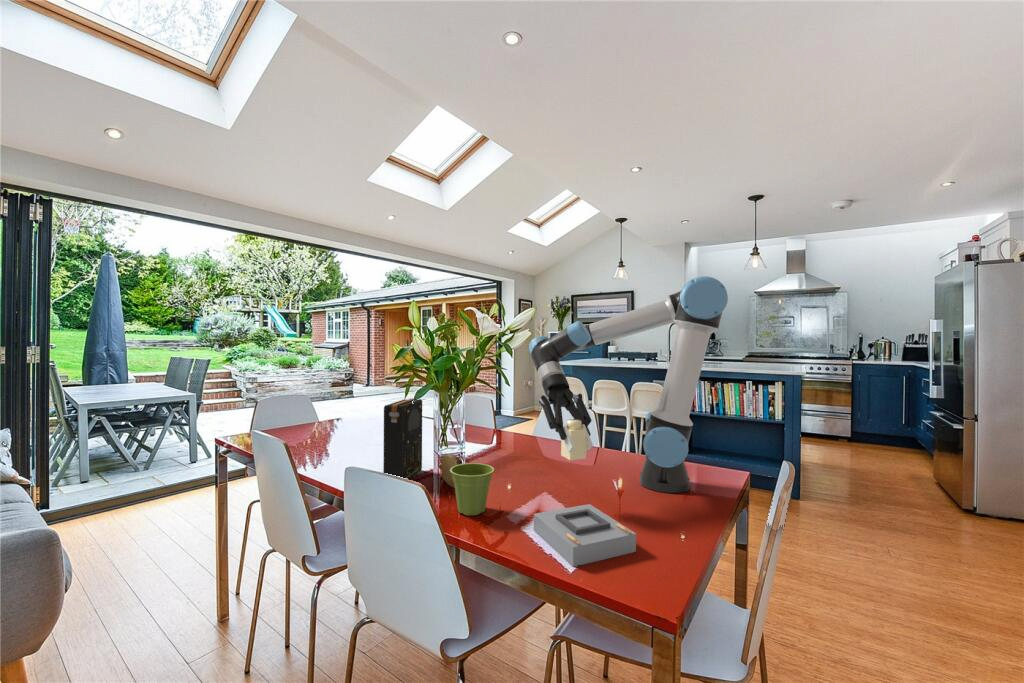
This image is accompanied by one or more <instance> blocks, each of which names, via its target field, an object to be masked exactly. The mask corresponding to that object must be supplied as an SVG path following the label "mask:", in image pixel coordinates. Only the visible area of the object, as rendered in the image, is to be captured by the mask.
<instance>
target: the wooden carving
mask: <svg viewBox="0 0 1024 683" xmlns="http://www.w3.org/2000/svg"><path fill="white" fill-rule="evenodd" d="M440 463H441V464H439V465H438V468H439V470H441V473H440V476H441V478H442V479H443V481H445V483H446V484H447V485H448V486H449V487H451V488H453V489H455V484H454V481H453V476H452V473H451V472H450V469H451V468H452V467H453V466H456V465H460V464H464V463H463V461H462V459H460V458H459V457H458V456H457V455H456V454H454V453H445V454H442V455H441V456H440Z"/></svg>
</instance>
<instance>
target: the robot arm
mask: <svg viewBox="0 0 1024 683" xmlns="http://www.w3.org/2000/svg"><path fill="white" fill-rule="evenodd" d="M728 299H729V295H728V291H727V288H726V287H725V285H724V283H722V282H721V281H720V280H719V279H717V278H714V277H712V276H698V277H694V278H692V279H690V280H688V281H687V282H686V283H685V284H684V285H683V286H682V289H681V290H680V291H678V292H675V293H673V294H670V295H667V297H666V298H665V300H664V299H663V300H660V301H657V302H655V303H651V304H648V305H645V306H642V307H639V308H635V309H633V310H629V311H626V312H623V313H620V314H618V315H613V316H611V317H610V316H609V317H607V318H604V319H601V320H598V321H594V322H593V323H589V324H585V325H584V323H583V322H582V321H580V320H576V321H575V322H573V323H572V324H569V325H568V326H566V327H565V328H563V329H562V330H559V332H558V333H555V334H554V335H552V336H551V337H547V336H546V335H540V336H539V337H538V336H536V337H535V338H533V339H532V340H531V341H529V345H528V349H529V353H530V354H529V355H530V358H531V359H532V362H533V365H534V368H535V369H536V372H537V375H538V377H539V380H540V383H541V387H542V388H543V391H544V394H545V395H544V394H543V395H541V397H540V398H539V400H538V403H539V404H540V405H541V407H542V409H543V413H544V415H545V419H546V421H547V424H548V426H549V429H550V430H554V431H555V432H556V433H558V436H559V438H560V440H564V442H565V445H566V447H567V450H568V452H571V451H572V450H573V448H574V444H573V441H572V439H571V436H570V434H569V431H568V429H567V425H564V420H563V411H562V409H563V408H565V410H566V411H568V412H569V414H570V416H572V418H573V419H576V420H581V421H582V422H581V427H582V428H584V429H587V435H586V451H589V450H591V448H592V447H593V446H594V444H593V441H592V439H591V434H592V433H591V432H590V428H589V426H590V424H591V423H592V421H593V420H592V419H591V416H590V414H589V412H588V409H587V407H586V404H585V402H584V400H583V395H582V393H578V394H575V393H574V392H573V391H572V390H571V389H570V388H571V387H570V384H569V381H568V380H567V377H566V375H565V371H564V370H563V367H562V365H561V363H560V360H562V359H564V358H565V357H567V356H568V355H570V354H573V353H574V352H577V351H578V352H580V351H584V350H586V349H589V348H593V347H595V346H597V345H602V344H605V343H608V342H612V341H615V340H619V339H621V338H625V337H628V336H633V335H636V334H639V333H643V332H646V331H649V330H652V329H655V328H660V327H663V326H666V325H670V324H675V325H676V326H677V332H676V336H675V339H674V342H673V346H672V347H673V348H672V351H671V355H670V360H669V362H668V365H667V366H668V368H667V372H666V375H665V379H664V381H663V386H662V390H661V394H660V398H659V403H658V406H657V407H656V409H653V410H652V411H649V412H647V413H646V418H645V435H644V438H643V441H642V446H643V451H644V453H645V461H644V463H643V466H642V469H641V472H640V474H639V484H640V485H641V486H643V487H644V488H646V489H649V490H652V491H655V492H660V493H667V494H668V493H669V494H671V493H672V494H676V493H685V492H687V491H689V490H690V489H691V479H690V478H689V474H688V471H687V467H686V464H685V460H686V458H687V456H688V454H689V447H690V446H689V441H690V438H691V434H692V430H693V426H694V422H692V419H691V418H690V414H691V410H692V406H693V402H694V399H695V395H696V393H697V392H696V390H697V389H698V388H697V387H698V384H699V379H700V376H701V372H702V368H703V364H704V361H705V356H706V353H707V349H708V344H709V341H710V337H711V335H712V334H713V333H715V332H717V331H718V329H719V326H720V322H721V319H722V315H723V313H724V310H725V309H726V308H727V304H728V302H729V301H728ZM551 404H552V406H551ZM552 408H553V409H552Z"/></svg>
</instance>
